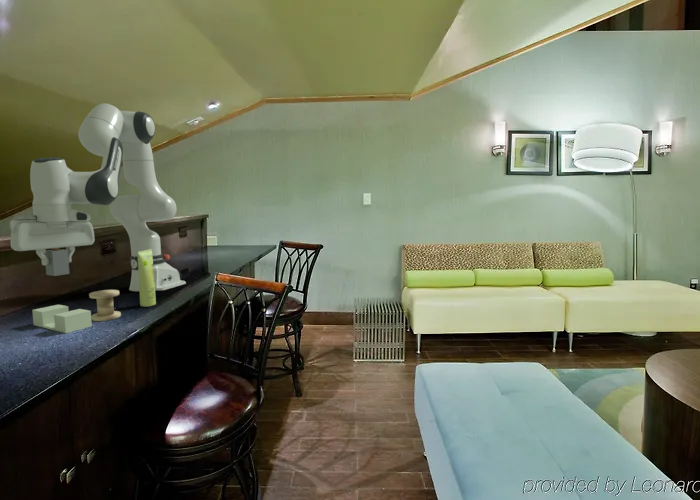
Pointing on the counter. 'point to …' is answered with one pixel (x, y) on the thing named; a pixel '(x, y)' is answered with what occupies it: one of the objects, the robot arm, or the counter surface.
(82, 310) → the notch board
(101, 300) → the bobbin
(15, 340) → the counter surface
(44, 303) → the counter surface
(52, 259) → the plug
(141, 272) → the tube
